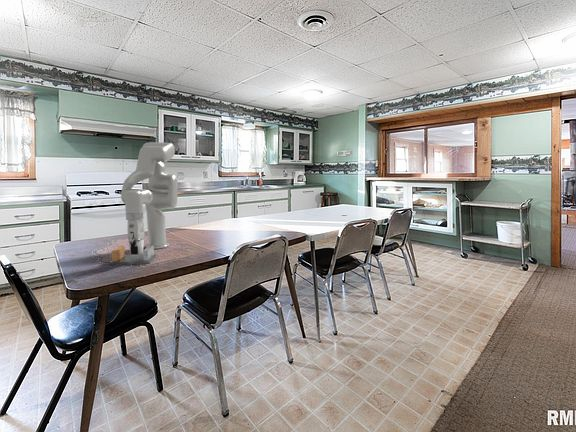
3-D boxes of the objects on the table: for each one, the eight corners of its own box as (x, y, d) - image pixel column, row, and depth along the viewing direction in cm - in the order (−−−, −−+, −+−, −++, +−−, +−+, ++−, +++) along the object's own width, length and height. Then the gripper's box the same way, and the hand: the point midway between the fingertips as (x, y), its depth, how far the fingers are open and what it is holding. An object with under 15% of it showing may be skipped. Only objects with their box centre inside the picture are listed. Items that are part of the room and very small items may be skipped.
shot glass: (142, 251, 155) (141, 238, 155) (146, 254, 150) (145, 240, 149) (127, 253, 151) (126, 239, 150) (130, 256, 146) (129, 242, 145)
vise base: (109, 264, 144) (108, 252, 143) (119, 257, 156) (118, 245, 155) (149, 263, 147) (149, 251, 146) (156, 256, 158) (156, 245, 157)
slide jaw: (112, 261, 145) (111, 251, 144) (120, 255, 155) (119, 246, 154) (116, 261, 145) (116, 251, 144) (124, 255, 155) (124, 246, 154)
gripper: (136, 218, 140) (139, 257, 143) (148, 213, 157) (150, 248, 160) (119, 219, 139) (121, 257, 142) (132, 213, 156) (134, 248, 159)
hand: (136, 252), depth 151 cm, fingers closed on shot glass, 5 cm apart
